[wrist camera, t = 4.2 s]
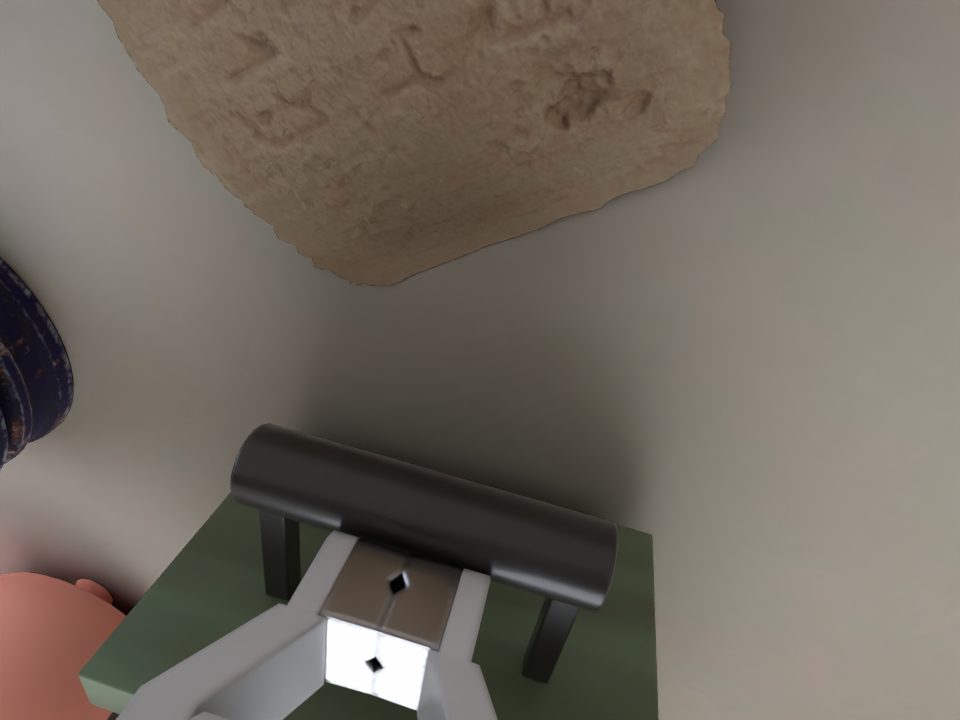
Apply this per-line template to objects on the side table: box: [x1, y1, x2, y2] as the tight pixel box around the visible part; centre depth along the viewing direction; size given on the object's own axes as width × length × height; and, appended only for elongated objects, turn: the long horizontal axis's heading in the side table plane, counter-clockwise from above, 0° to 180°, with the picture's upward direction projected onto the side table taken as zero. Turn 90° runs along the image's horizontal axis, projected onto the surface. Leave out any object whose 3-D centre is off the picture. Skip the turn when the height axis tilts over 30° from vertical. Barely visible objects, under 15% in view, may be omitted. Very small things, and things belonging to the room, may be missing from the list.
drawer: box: [78, 423, 658, 720], centre depth 16 cm, size 18×11×8 cm, turn 171°
